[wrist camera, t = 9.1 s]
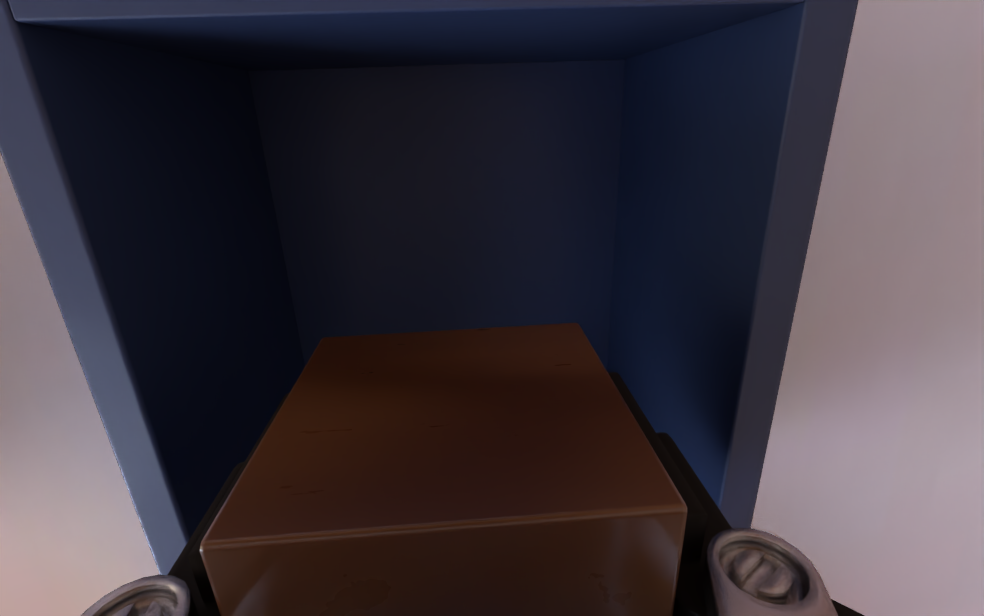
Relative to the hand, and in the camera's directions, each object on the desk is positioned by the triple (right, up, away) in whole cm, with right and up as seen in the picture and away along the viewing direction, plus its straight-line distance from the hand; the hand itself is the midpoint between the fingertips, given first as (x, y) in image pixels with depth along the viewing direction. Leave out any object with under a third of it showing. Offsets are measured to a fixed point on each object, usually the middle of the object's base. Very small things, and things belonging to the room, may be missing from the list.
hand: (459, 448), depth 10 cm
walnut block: (0, 0, 0) cm, 0 cm away
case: (-1, +4, +9) cm, 10 cm away
